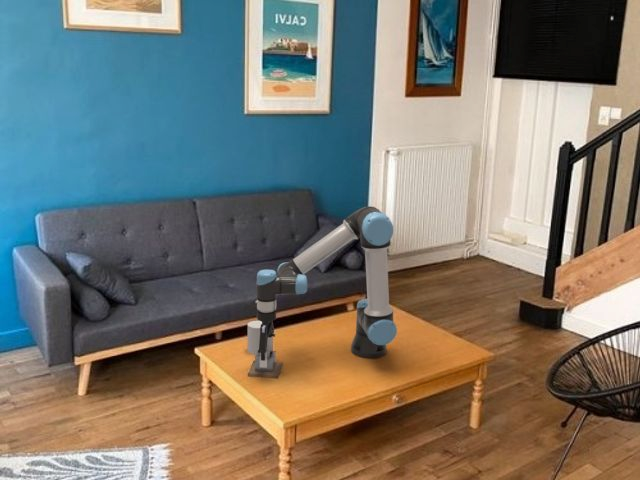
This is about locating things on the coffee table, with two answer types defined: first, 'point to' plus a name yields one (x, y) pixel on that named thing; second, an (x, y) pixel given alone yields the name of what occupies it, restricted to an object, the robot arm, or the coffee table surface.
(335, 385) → the coffee table surface
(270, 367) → the collar
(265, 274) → the robot arm
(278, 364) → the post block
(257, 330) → the gold-veined taupe cylinder
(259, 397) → the coffee table surface
